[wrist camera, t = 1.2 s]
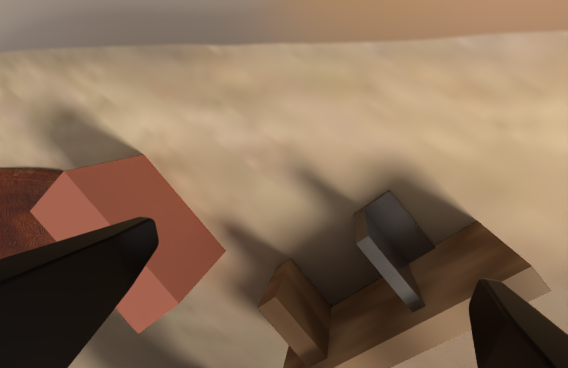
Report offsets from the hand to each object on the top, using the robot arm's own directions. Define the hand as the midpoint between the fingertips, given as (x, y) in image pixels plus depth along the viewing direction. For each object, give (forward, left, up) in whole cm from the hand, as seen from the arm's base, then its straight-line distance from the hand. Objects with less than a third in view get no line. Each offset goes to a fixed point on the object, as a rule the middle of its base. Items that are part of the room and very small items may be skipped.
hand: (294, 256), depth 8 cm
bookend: (+1, -6, -13) cm, 15 cm away
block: (-12, +5, -13) cm, 19 cm away
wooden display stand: (-2, -7, -13) cm, 15 cm away
